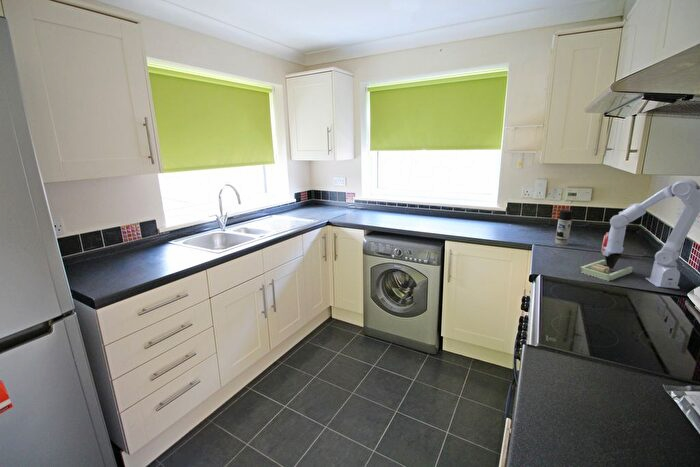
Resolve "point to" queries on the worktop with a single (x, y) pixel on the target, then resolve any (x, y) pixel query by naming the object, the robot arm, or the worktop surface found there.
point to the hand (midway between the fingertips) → (610, 267)
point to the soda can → (605, 241)
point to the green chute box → (608, 277)
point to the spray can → (563, 227)
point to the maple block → (600, 268)
